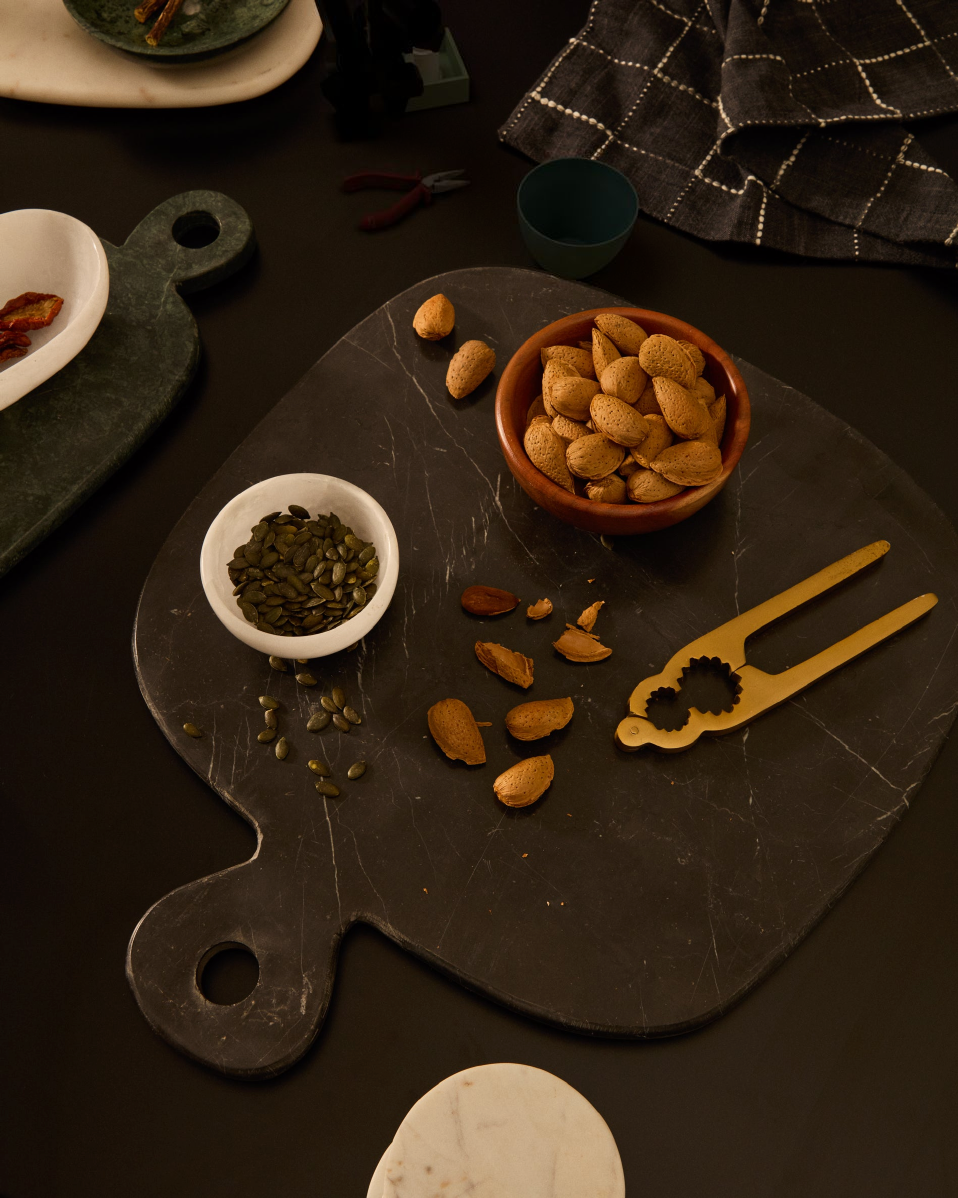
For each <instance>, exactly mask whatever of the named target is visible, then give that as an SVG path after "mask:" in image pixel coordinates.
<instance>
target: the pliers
mask: <svg viewBox="0 0 958 1198" xmlns="http://www.w3.org/2000/svg"><path fill="white" fill-rule="evenodd" d="M464 172H466V169H465V168H463V169H457V170H456V169H455V170H449V171H443V172H437V173H434V174H431V175H428V176H426V177H424V178H423V176H422V175H421V170H415V171H414V175H407V174H401V173H400V174H399V173H392V172H384V171H376V170H375V171H373V170H372V171H371V170H370V171H367V170H366V171H362V172H359V173H356V174H352V175H348V176H346V177H345V178H344V179H343V180H342V187H343V189H344V190H345V191H347V192H353V191H356V190H359V189H363V188H368V187H379V188H387V189H393V190H394V189H395V190H402V191H403V190H404V191H409V192H407V194H406V195H404V196H403V197H401V198H400V199H399V200H398V201H397V202H396V203H394V204H393V205H392V206H390V207H389V208H387V209H385V210H383V211H382V212H375V213H372V214H371V213H370V214H367V215H366V214H365V215H364V216H362V217H361V218H360V219H359V225H360V227H361V229H362V230H364V231H371V230H374V229H375V230H376V229H380V228H386V227H387V226H389V225H392V224H394V223H395V222H396V221H399V219H401V218H402V217H403V216H404V215H405V214H407V213H408V212H409V211H410V210H412V209H413V208H414V207H415V206H416V205H418V204H419V203H420V202H423V203H424V204H426V205H428V204H429V203H431V202H432V194H439V193H444V192H448V191H450V190H454V189H456V188H457V189H458V188H460V187H463V186H467V185H469V184H471V180H453V179H454V178H456V177H457V176H459V175H461V174H462V173H464Z"/></svg>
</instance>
